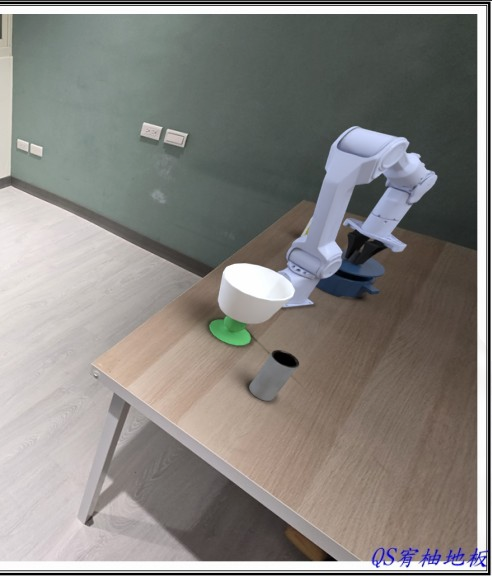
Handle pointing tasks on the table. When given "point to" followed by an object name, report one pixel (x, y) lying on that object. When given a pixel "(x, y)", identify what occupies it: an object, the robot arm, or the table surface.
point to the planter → (273, 375)
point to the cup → (248, 300)
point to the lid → (361, 265)
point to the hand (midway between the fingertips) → (353, 260)
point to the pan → (347, 285)
